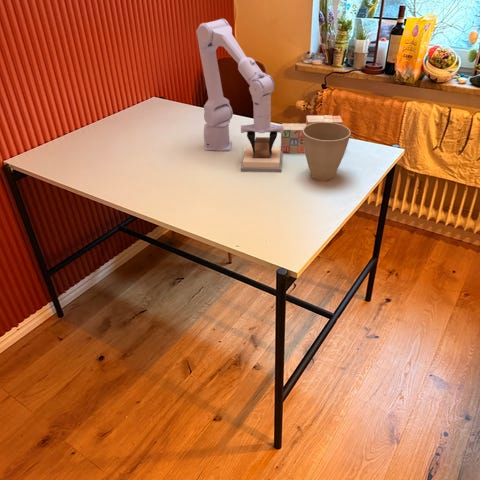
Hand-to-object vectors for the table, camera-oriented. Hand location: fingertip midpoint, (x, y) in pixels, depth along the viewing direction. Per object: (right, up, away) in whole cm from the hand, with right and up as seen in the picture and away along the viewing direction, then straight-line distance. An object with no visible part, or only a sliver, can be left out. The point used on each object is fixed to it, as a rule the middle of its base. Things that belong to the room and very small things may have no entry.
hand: (262, 151), depth 158 cm
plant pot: (+20, -10, -7) cm, 23 cm away
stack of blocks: (+18, +2, +10) cm, 21 cm away
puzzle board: (0, -3, +2) cm, 4 cm away
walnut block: (0, -1, +1) cm, 2 cm away
